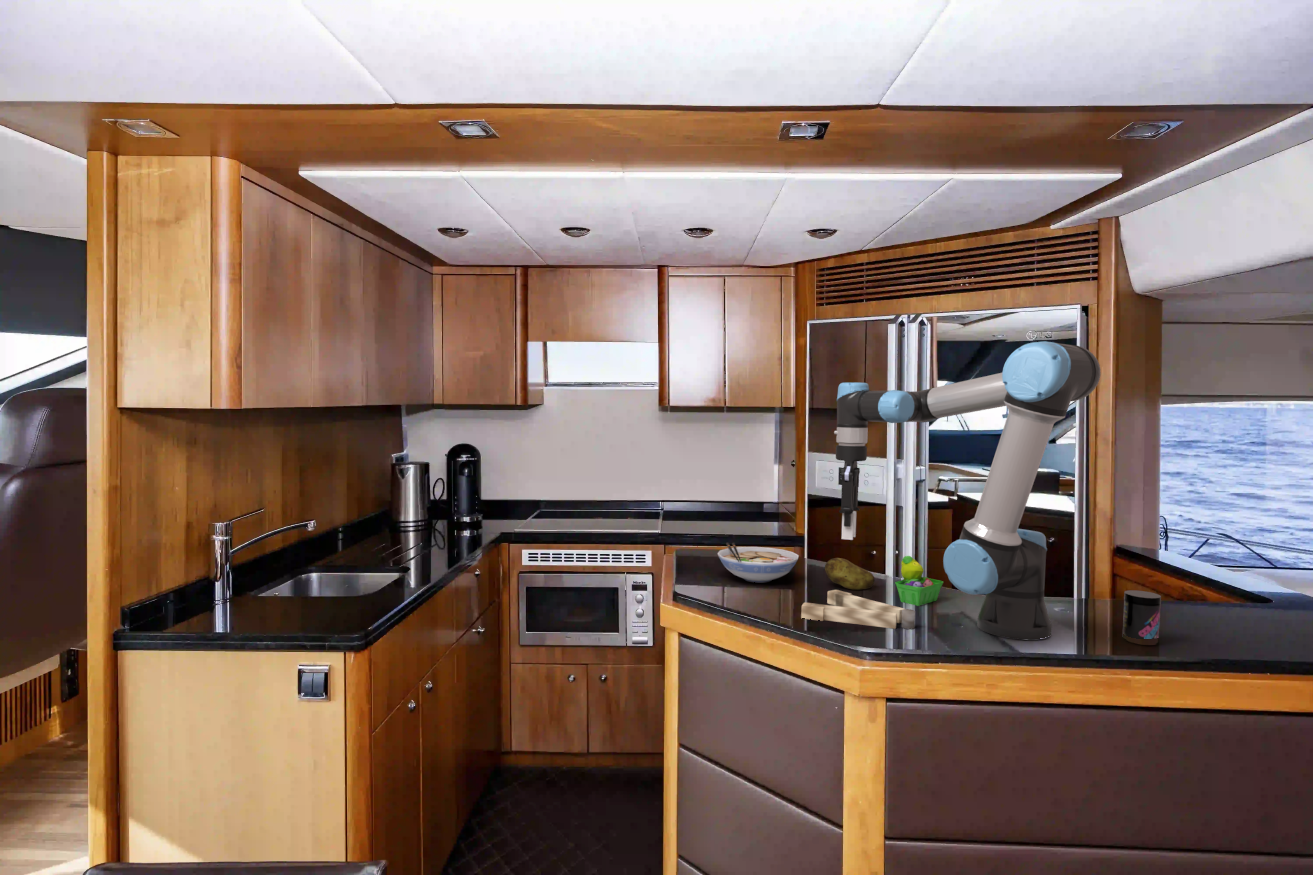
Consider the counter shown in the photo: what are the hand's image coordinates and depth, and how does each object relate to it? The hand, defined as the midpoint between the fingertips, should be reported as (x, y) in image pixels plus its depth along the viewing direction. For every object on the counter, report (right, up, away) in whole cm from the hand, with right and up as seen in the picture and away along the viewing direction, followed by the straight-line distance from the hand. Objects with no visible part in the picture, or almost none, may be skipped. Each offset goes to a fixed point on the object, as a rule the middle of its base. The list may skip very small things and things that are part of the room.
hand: (848, 537), depth 196 cm
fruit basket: (+18, -17, +4) cm, 26 cm away
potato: (+4, -16, +17) cm, 24 cm away
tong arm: (+2, -17, -8) cm, 19 cm away
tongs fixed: (-2, -17, -16) cm, 24 cm away
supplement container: (+56, -19, -27) cm, 65 cm away
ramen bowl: (-20, -15, +25) cm, 35 cm away
